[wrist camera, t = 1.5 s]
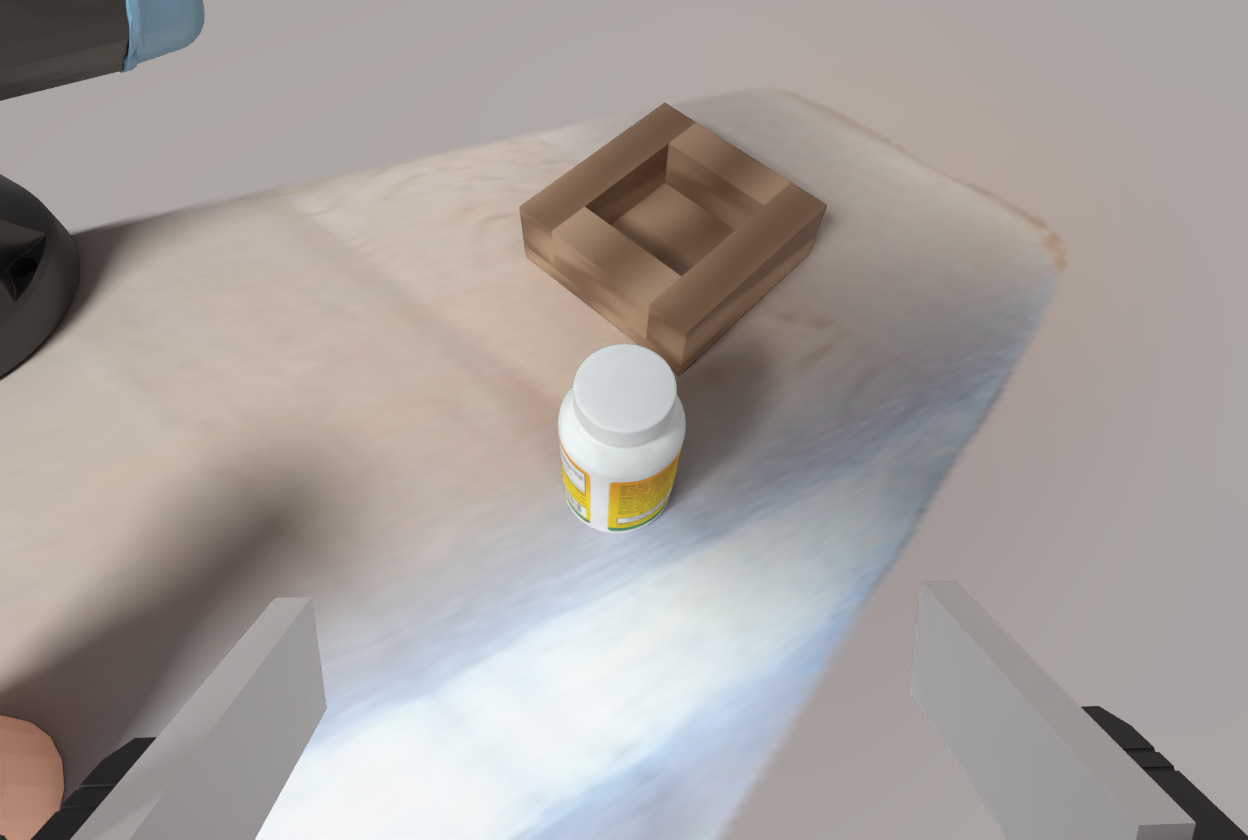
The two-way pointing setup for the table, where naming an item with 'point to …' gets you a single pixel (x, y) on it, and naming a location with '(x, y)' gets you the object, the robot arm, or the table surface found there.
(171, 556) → the table surface
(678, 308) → the socket block
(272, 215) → the table surface
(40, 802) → the pepper shaker
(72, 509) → the table surface
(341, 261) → the table surface
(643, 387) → the supplement bottle
